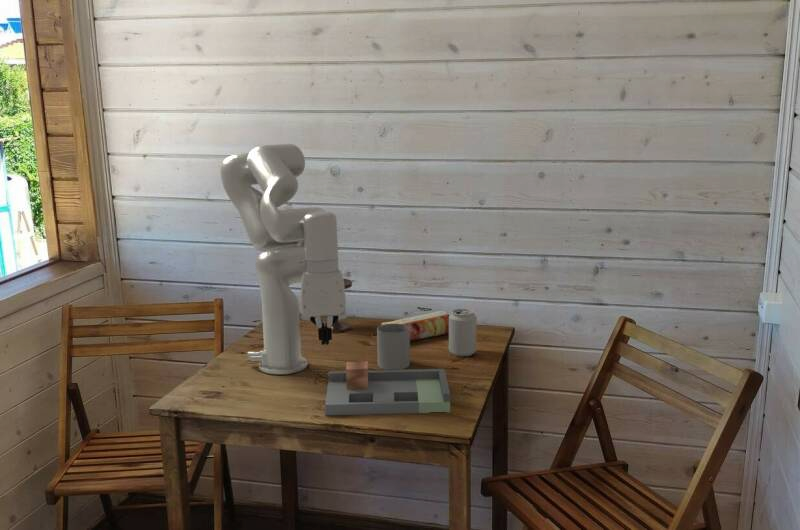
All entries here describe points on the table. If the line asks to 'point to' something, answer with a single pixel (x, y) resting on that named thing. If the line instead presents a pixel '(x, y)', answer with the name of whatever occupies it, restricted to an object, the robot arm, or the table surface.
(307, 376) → the table surface
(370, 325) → the table surface
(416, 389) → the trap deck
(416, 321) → the snack package
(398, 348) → the cup
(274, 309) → the robot arm
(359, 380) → the block
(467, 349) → the can
